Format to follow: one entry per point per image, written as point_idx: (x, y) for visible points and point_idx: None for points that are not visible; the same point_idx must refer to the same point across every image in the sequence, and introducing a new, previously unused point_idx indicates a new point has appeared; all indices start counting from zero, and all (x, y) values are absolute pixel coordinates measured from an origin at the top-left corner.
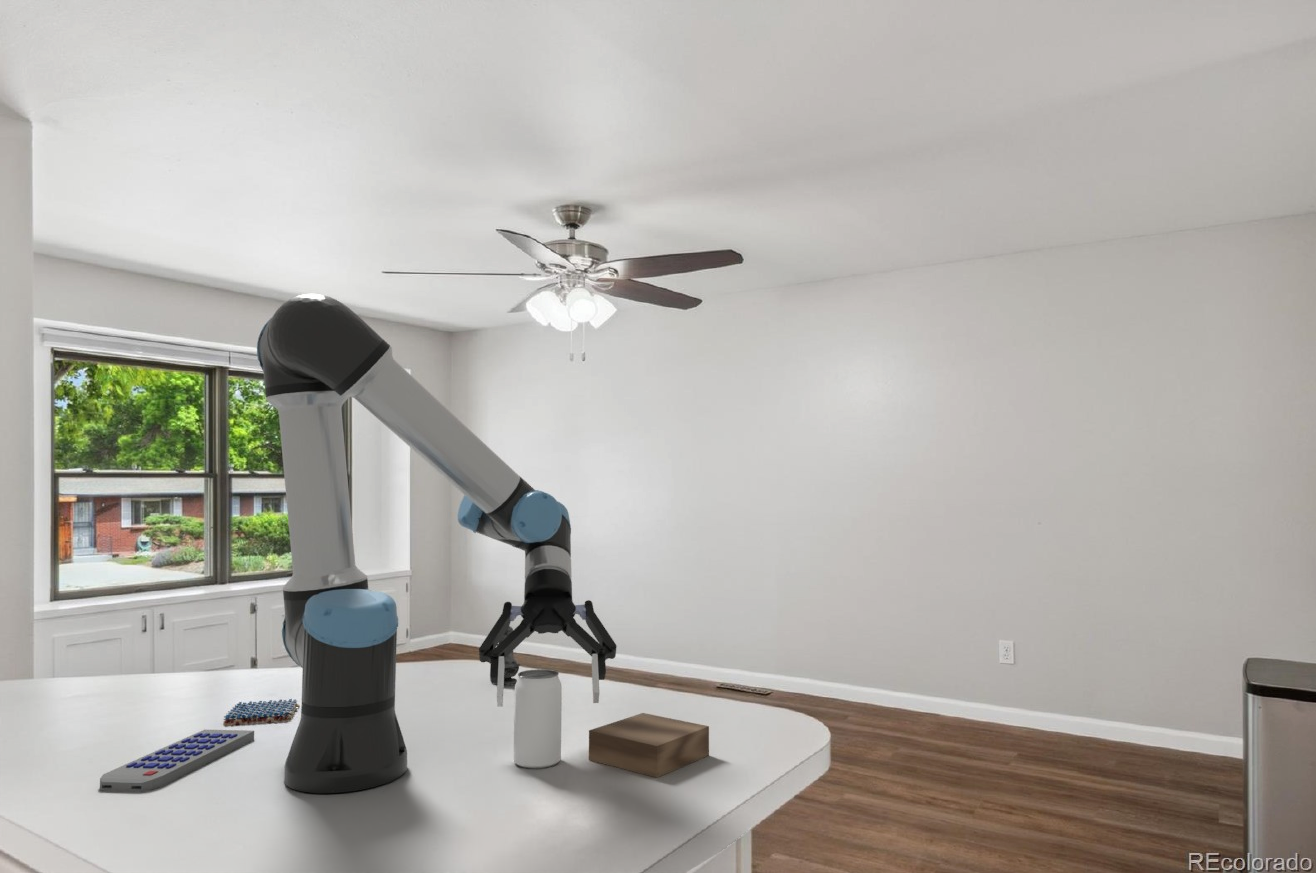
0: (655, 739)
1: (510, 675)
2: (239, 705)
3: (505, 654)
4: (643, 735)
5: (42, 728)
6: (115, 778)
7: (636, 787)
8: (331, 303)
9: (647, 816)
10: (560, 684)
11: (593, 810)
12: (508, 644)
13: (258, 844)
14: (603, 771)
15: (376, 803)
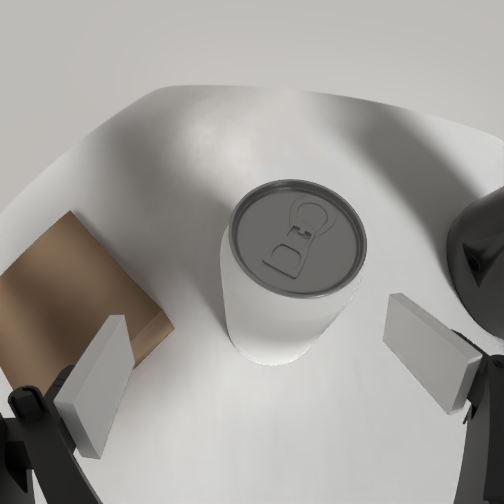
0: (60, 241)
1: None
2: None
3: (474, 419)
4: (69, 265)
5: None
6: None
7: (122, 206)
8: None
9: (135, 139)
10: (222, 238)
11: (186, 149)
12: (492, 401)
13: (447, 134)
14: (154, 268)
15: (424, 186)
